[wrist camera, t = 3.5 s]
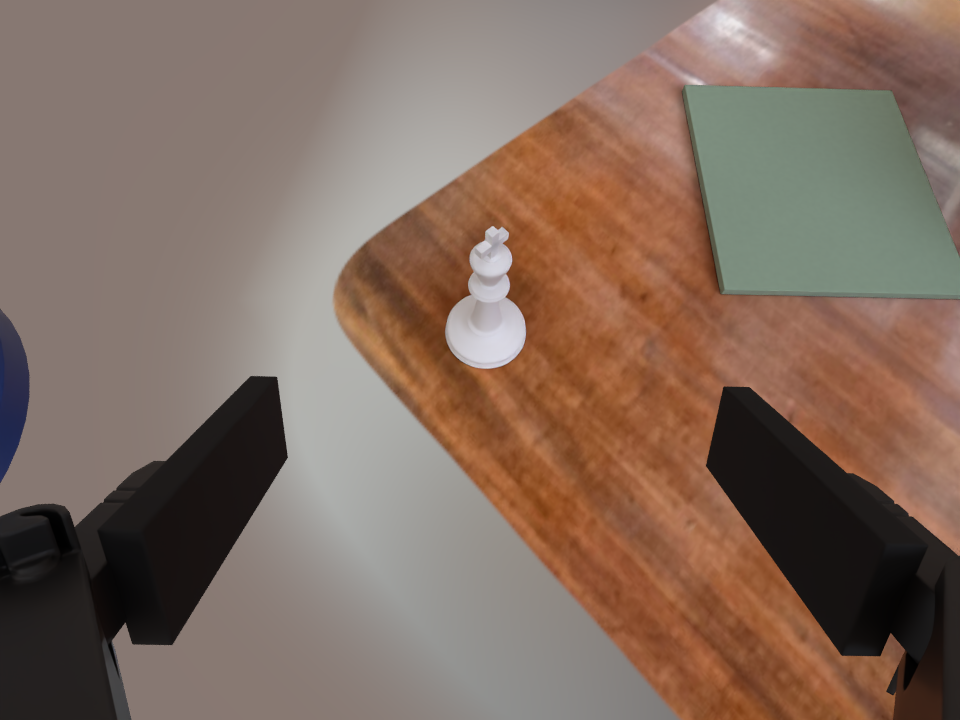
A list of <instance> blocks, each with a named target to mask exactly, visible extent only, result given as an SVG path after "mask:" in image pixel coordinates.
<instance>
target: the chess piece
mask: <svg viewBox="0 0 960 720" xmlns="http://www.w3.org/2000/svg"><path fill="white" fill-rule="evenodd" d="M508 236H509V232H507V231H506V230H505V229H504V228H503V227H501V228H500V229H499V230H497V229H496V228H495V227H493V226H492V227H491V228H489V229H488V230H487V231H486V233H485V240H484V241H483V242H481V243H479V244H477V245H476V246H475V247H474V248H473V249H472V251H471V253H470V264H471V267H472V269H473V271H474V272H473V274H472V275H471V277H470V279H469V282H468V287H469V291H470V293H471V294H472V295H470V296H467V297H465V298H464V299H462V300H461V301H459V302H458V303H457V304H456V305H455V306H454V307H453V309H452V310H451V312H450V314H449V316H448V319H447V323H446V329H445V334H446V340H447V343H448V346H449V348H450V350H451V351H452V353H453V354H454V355H455V356H456V357H457V358H458V359H459V360H461V361H462V362H464V363H465V364H467V365H470V366H472V367H476V368H482V369H490V368H496V367H500V366H503V365H505V364H507V363H509V362H510V361H512V360H513V359H514V358H515V357H516V356H517V355H518V354H519V352H520V351H521V349H522V347H523V345H524V342H525V338H526V327H525V321H524V317H523V315H522V313H521V311H520V310H519V308H518V307H517V306H516V305H515V304H514V303H513V302H512V301H510V300H509V299H507V298H506V297H505V296H506V295H507V293H508V291H509V288H510V283H509V279H508V277H507V275H506V273H507V271H508V270H509V268H510V266H511V263H512V255H511V252H510V251H509V249H508V248H507V247H506V246H505V245H504V244H502V243H503V242H504V241H506V240H507V239H508Z"/></svg>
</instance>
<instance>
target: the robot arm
mask: <svg viewBox="0 0 960 720" xmlns="http://www.w3.org/2000/svg"><path fill="white" fill-rule="evenodd" d="M287 458H288V456H287V449H286V441H285V434H284V426H283V418H282V411H281V403H280V395H279V388H278V380H277V377H265V376H264V377H263V376H261V377H260V376H251V377H249V378H248V379H247V381H245V382H244V383H243V384H242V385H241V386H240V388H239V389H237V391H235V392H234V394H233V395H231V396H230V398H228V399H227V400H226V401H225V402H224V403H223V405H221V406H220V408H218V410H216V411H215V412H214V413H213V415H211V416H210V417H209V418H208V419H207V420H206V421H205V423H204V424H203V425H201V427H200V428H198V429H197V430H196V432H194V434H193V435H191V436H190V438H189V439H188V440H187V441H186V442H185V443H184V444H183V445H182V446H181V447H180V448H179V449H178V450H177V451H176V452H175V453H174V454H173V455H172V456H171V457H170V458H169V459H168V460H167V461H153V462H151V463H150V464H148V465H146V466H145V467H142V468H141V469H139V470H137V471H135V472H133V473H132V474H131V475H130V476H129V477H128V478H127V479H125V480H124V481H123V482H122V483H121V484H120V485H119V486H118V487H117V490H116V491H113V492H112V493H110V494H109V495H108V496H107V497H106V498H105V499H104V502H103V503H100V504H99V505H98V506H97V507H96V508H95V509H93V511H91V512H90V513H89V514H88V515H87V516H86V517H85V518H84V519H83V520H82V521H81V522H80V523H79V524H78V525H76V527H74V525H73V521H72V518H71V515H70V512H69V511H68V510H67V509H66V508H65V506H61V505H56V504H41V505H40V504H38V505H34V506H30V507H25V508H21V509H18V510H15V511H13V512H10V513H8V514H5V515H3V516H1V517H0V720H131V716H130V712H129V707H128V703H127V699H126V695H125V690H124V686H123V682H122V677H121V673H120V669H119V664H118V660H117V656H116V652H115V649H114V646H113V643H112V640H113V638H114V637H115V636H116V634H117V633H118V632H119V630H120V629H121V628H122V626H123V625H124V623H125V622H126V625H127V628H128V632H129V635H130V638H131V641H132V644H141V645H142V644H145V645H172V644H173V643H174V641H175V640H176V638H177V636H178V635H179V633H180V631H181V630H182V628H183V626H184V625H185V623H186V622H187V620H188V619H189V617H190V615H191V614H192V612H193V610H194V609H195V607H196V605H197V604H198V602H199V601H200V599H201V597H202V596H203V594H204V593H205V591H206V589H207V588H208V586H209V584H210V583H211V581H212V580H213V578H214V576H215V575H216V573H217V571H218V570H219V568H220V566H221V565H222V563H223V562H224V560H225V558H226V557H227V555H228V554H229V552H230V550H231V549H232V547H233V545H234V544H235V542H236V541H237V539H238V537H239V536H240V534H241V533H242V531H243V529H244V528H245V526H246V524H247V523H248V521H249V520H250V518H251V516H252V515H253V513H254V511H255V510H256V508H257V506H258V505H259V503H260V502H261V500H262V498H263V497H264V495H265V493H266V492H267V490H268V489H269V487H270V485H271V484H272V482H273V481H274V479H275V477H276V476H277V474H278V472H279V471H280V469H281V468H282V466H283V464H284V463H285V461H286V460H287ZM706 467H707V468H708V469H709V471H710V472H711V474H712V475H713V476H714V478H715V479H716V481H717V482H718V483H719V485H720V486H721V488H722V489H723V490H724V492H725V493H726V495H727V496H728V497H729V499H730V500H731V502H732V503H733V504H734V506H735V507H736V509H737V510H738V511H739V513H740V514H741V516H742V517H743V518H744V520H745V521H746V522H747V524H748V525H749V527H750V528H751V529H752V531H753V532H754V534H755V535H756V536H757V538H758V539H759V541H760V542H761V543H762V545H763V546H764V548H765V549H766V550H767V552H768V553H769V555H770V556H771V557H772V559H773V560H774V562H775V563H776V564H777V566H778V567H779V569H780V570H781V571H782V573H783V574H784V576H785V577H786V578H787V580H788V581H789V583H790V584H791V585H792V587H793V588H794V590H795V591H796V592H797V594H798V595H799V597H800V598H801V599H802V601H803V602H804V604H805V605H806V606H807V608H808V609H809V611H810V612H811V613H812V615H813V616H814V618H815V619H816V620H817V622H818V623H819V624H820V626H821V627H822V629H823V630H824V631H825V633H826V634H827V636H828V637H829V638H830V640H831V641H832V643H833V644H834V645H835V647H836V648H837V650H838V651H839V652H840V654H841V655H842V656H880V655H881V653H882V651H883V649H884V646H885V644H886V642H887V639H888V637H889V635H890V633H891V634H892V635H893V636H894V637H895V638H896V640H897V641H898V642H899V643H900V644H901V645H902V647H903V648H904V649H905V652H904V654H903V656H902V658H901V661H900V663H899V665H898V667H897V669H896V671H895V674H894V676H893V678H892V680H891V682H890V684H889V687H888V689H887V691H886V692H888V693H890V694H892V695H894V693H895V692H896V697H895V706H894V716H893V720H960V556H958V555H957V554H956V553H954V552H953V551H952V550H951V549H950V548H949V547H947V546H946V545H945V544H944V543H943V542H942V541H940V540H939V539H938V538H937V537H936V536H934V535H933V534H932V533H931V532H930V531H929V530H927V529H926V528H925V527H924V526H923V525H922V524H920V523H919V522H918V521H917V520H916V519H914V518H913V517H909V515H908V514H909V513H907V512H906V511H905V510H904V509H903V508H902V507H900V506H899V505H898V504H894V501H893V500H892V499H891V498H890V497H889V496H887V495H886V494H885V493H884V492H883V491H882V490H880V489H879V488H878V487H877V486H875V485H873V484H871V483H870V482H868V481H866V480H864V479H862V478H861V477H859V476H857V475H855V474H853V473H846V472H845V471H844V470H843V469H842V468H840V467H839V466H838V465H837V464H836V463H835V462H834V461H832V460H831V459H830V458H829V457H828V456H827V455H826V454H825V453H823V452H822V451H821V450H820V449H819V448H818V447H817V446H815V445H814V444H813V443H812V442H811V441H810V440H809V439H808V438H806V437H805V436H804V435H803V434H802V433H801V432H800V431H798V430H797V429H796V428H795V427H794V426H793V425H792V424H791V423H789V422H788V421H787V420H786V419H785V418H784V417H783V416H782V415H780V414H779V413H778V412H777V411H776V410H775V409H774V408H772V407H771V406H770V405H769V404H768V403H767V402H766V401H765V400H763V399H762V398H761V397H760V396H759V395H758V394H757V393H755V392H754V391H753V390H752V389H751V388H750V387H723V391H722V396H721V401H720V405H719V410H718V414H717V419H716V423H715V428H714V432H713V437H712V441H711V446H710V450H709V455H708V459H707V464H706Z"/></svg>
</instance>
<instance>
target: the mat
mask: <svg viewBox="0 0 960 720" xmlns="http://www.w3.org/2000/svg"><path fill="white" fill-rule="evenodd" d="M682 94H683V99H684V104H685V110H686V115H687V120H688V125H689V131H690V136H691V141H692V146H693V152H694V157H695V162H696V167H697V173H698V178H699V183H700V188H701V194H702V199H703V204H704V209H705V214H706V220H707V225H708V230H709V235H710V241H711V246H712V251H713V256H714V262H715V267H716V272H717V277H718V283H719V288H720V293H721V294H741V295H788V296H834V297H881V298H928V299H960V257H959V255H958V252H957V250H956V247H955V245H954V242H953V240H952V238H951V235H950V233H949V230H948V228H947V225H946V223H945V220H944V218H943V215H942V213H941V211H940V208H939V206H938V203H937V201H936V198H935V196H934V193H933V191H932V188H931V186H930V184H929V181H928V179H927V176H926V174H925V171H924V169H923V166H922V164H921V161H920V159H919V157H918V154H917V152H916V149H915V147H914V144H913V142H912V139H911V137H910V134H909V132H908V129H907V127H906V125H905V122H904V120H903V117H902V115H901V112H900V110H899V107H898V105H897V102H896V100H895V98H894V95H893V93H892V91H890V90H853V89H817V88H780V87H743V86H706V85H685V86H684V88H683V90H682Z"/></svg>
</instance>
